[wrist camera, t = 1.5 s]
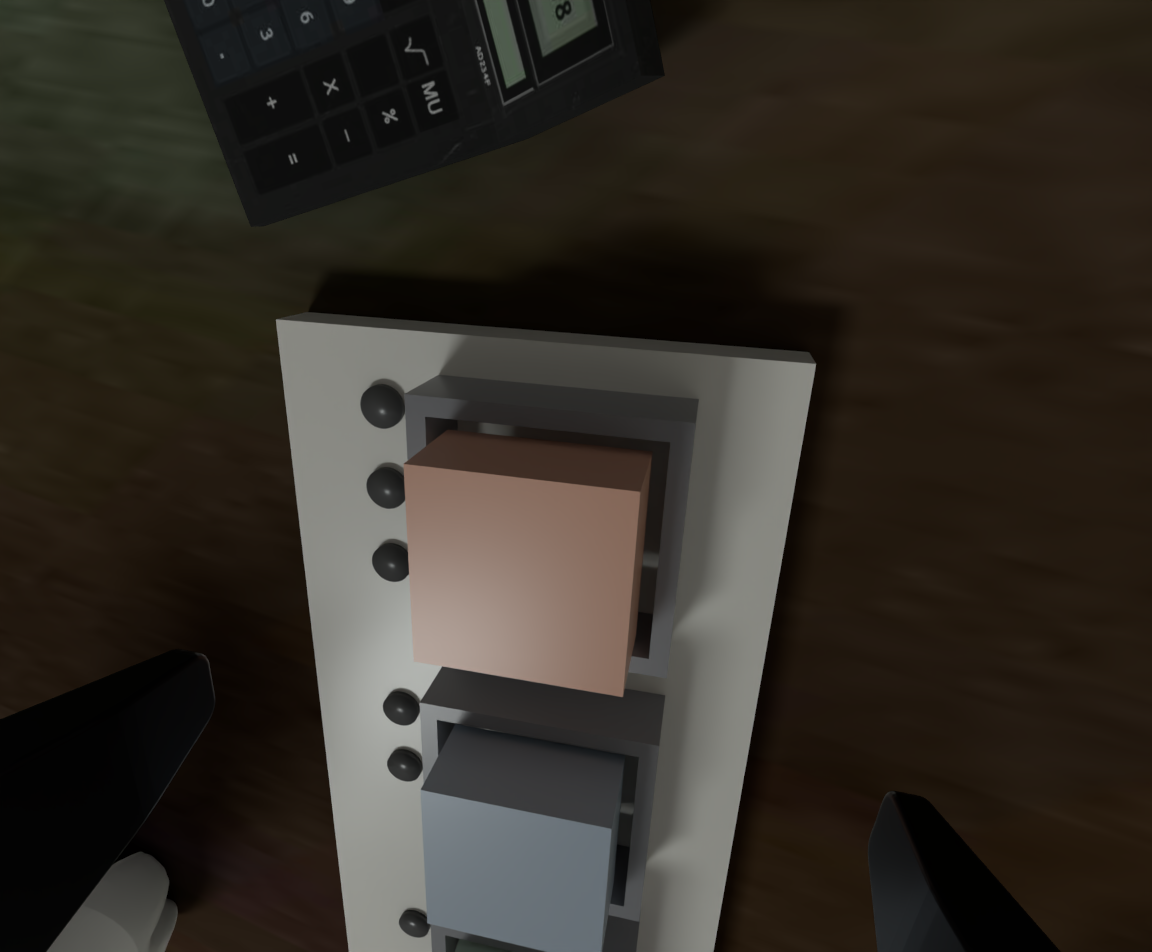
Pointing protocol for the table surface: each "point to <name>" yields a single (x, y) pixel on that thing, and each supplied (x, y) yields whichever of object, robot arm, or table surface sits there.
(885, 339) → the table surface
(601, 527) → the three dot button
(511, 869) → the two dot button
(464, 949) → the one dot button
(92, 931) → the water bottle
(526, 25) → the calculator
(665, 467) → the button board
